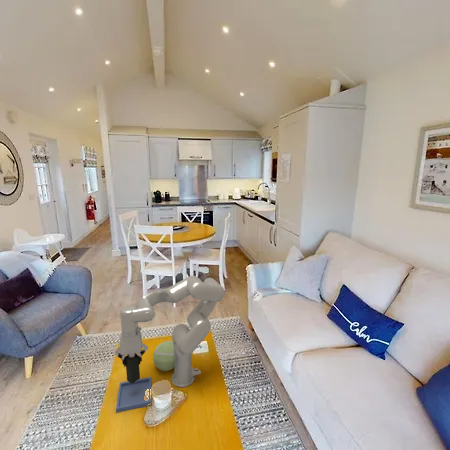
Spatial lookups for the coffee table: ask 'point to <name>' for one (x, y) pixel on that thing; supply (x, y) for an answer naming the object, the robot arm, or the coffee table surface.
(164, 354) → the decorative sphere
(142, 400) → the slate blue tray
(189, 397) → the coffee table surface
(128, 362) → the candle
